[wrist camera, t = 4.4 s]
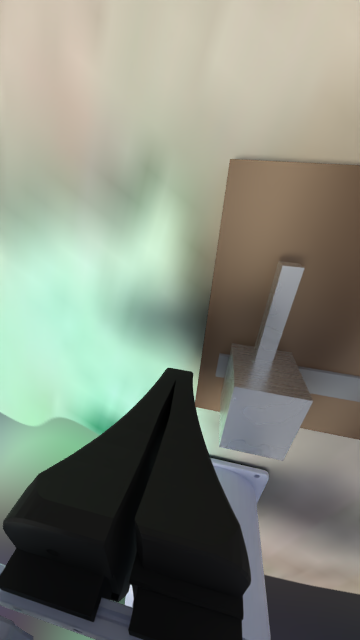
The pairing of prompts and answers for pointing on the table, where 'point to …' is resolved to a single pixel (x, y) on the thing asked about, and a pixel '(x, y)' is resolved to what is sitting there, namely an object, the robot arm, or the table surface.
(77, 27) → the table surface
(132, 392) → the table surface
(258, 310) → the gauge board
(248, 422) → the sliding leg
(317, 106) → the table surface
